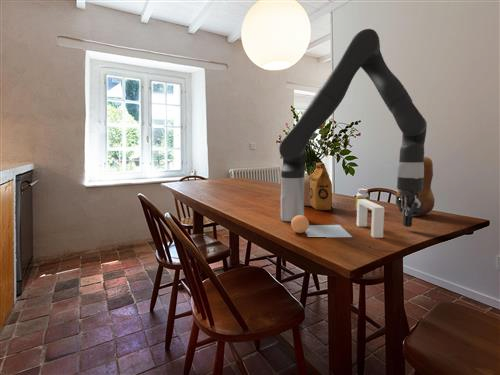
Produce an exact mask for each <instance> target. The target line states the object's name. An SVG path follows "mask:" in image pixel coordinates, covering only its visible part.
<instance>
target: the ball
mask: <svg viewBox="0 0 500 375" xmlns="http://www.w3.org/2000/svg"><path fill="white" fill-rule="evenodd" d="M290 225H291V229H292V230H293V231H294V232H296V233H297V234H298V233H299V234H303V233H305V231H306V230H307V229H308V227H309V225H310V222H309V219H308V218H307V217H306V216H305V215H304V216H302V215H297V216H295V217H294V218H293V219H292V221H291V223H290Z"/></svg>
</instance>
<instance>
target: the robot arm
mask: <svg viewBox="0 0 500 375" xmlns="http://www.w3.org/2000/svg"><path fill="white" fill-rule="evenodd" d="M380 43H381V42H380V37H379V34H378V33H377V31H376V30H375V29H373V28H365V29H362V30H361V31H359V32H357V33H356V34H355V35H354V36H353V38H352V39H351V41H350V42H349V44H348V46H347V47H346V49H345V50H344V52H343V54H342V56H341V58H340V60H339V62H338V63H337V64H336V66H335V67H334V68H333V70H332V71H331V72H330V74H329V75H328V76H327V78H326V79H325V81H324V82H323V83H322V84H321V86H320V88H318V90H317V92H316V93H315V94H314V96H313V97H312V99H311V100H310V102H309V104H308V105H307V107H306V108H305V110H304V111H303V113H302V115H301V116H300V118H299V119H298V121H297V122H296V124H295V125H294V126H293V127H292V128H291V129H290V131H289V132H288V133H287V135H285V136H284V138H283V139H282V140H281V141H280V144H279V148H278V149H279V155H280V157H282V168H281V171H280V219H281V221H282V222H291V221H292V219H293V218H294V217H295V216H297V215H302V216H305V173H306V165H307V164H306V159H307V156H306V155H307V154H306V153H307V150H306V145H307V144H308V142H309V141H310V139H311V138H312V137H313V134H315V132H316V131H317V130H318V129H320V127H321V126H323V124H325V123H326V122H327V120H328V119H329V118H330V117H331V116H332V115H333V113H334V112H335V111H336V110H337V108H338V107H339V105H341V103H342V101H343V99H344V98H345V96H346V94H347V92H348V90H349V87H350V85H351V84H352V80H353V78H354V77H355V76H356V74H357V72H359V70H360V69H362V70H363V71H364V73H366V75H367V76H368V77H369V78H370V80H371V82H372V83H373V85H374V86H375V89H376V90H377V92H378V94H379V96H380V97H381V99H382V100H383V102H384V105H385V106H386V107H387V108H388V111H390V113H391V114H392V116H393V118H394V120H395V123H396V125H397V126H398V129H399V130H400V131H401V133H402V138H401V139H402V140H401V146H400V150H399V161H398V167H397V179H396V180H397V182H396V183H397V184H396V189H397V191H398V190H401V192H400V196H399V197H397V196H396V198H395V201H396V200H397V203H398V205H397V207H398V206H399V207H398V208H399V212H400V213H402V216H403V220H402V225H403V226H404V227H406V228H412V227H413V226H412V225H413V217H415V216H414V215H417V214H418V213H419V211H420V210H421V208H422V206H423V202H419V200H418V199H419V194H418V192H419V191H421V190H423V178H424V156H425V141H426V136H427V129H428V128H427V124H428V123H427V121H426V119H425V117H424V116H423V115H422V113H420V111H419V109H418V108H417V107H416V106H415V104H414V103H413V99H412V97H411V96H410V94H409V93H408V91H407V90H406V88H405V86H404V85H403V83H402V82H401V81H400V79H399V78H398V77H397V76H396V75H395V74H394V73H393V72H392V71H391V70H390V68H389V67H388V66H387V64H386V62H385V60H384V57H383V55H382V52H381V44H380ZM414 211H415V212H414Z"/></svg>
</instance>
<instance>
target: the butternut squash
mask: <svg viewBox="0 0 500 375" xmlns="http://www.w3.org/2000/svg"><path fill="white" fill-rule="evenodd" d="M433 167H434V164H433V161H432V159H431V158H430V157H429V156H425V155H424V178H423V190H421V191H419V192H418V194H419V199H418V200H419V202H423V206H422V208H421V210H420V211H419V213H418V214H417V215H414V216H413V217H416V216H417V217H421V216H424V215H427V214H429V213H430V212H432V211H433V209H434V207H435V195H434V194H433V190H432V186H431V185H432V181H433V177H434V168H433ZM400 192H401V190H398V189H397V193H396V197H399V196H400ZM395 204H396V205H397V207H398V208H399V206H398V203H397V200H396V199H395ZM414 212H415V211H414Z"/></svg>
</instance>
